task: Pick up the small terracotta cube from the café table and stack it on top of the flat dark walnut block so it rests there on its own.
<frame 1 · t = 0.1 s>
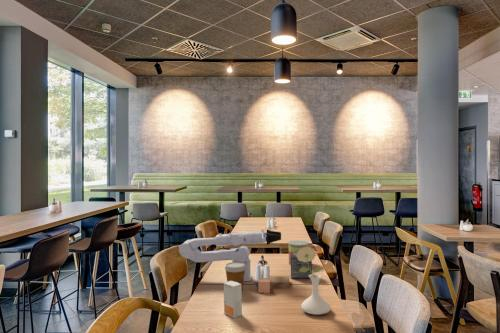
hand: (281, 235, 178), 22 cm above the table, tool horizontal, fingers open, 7 cm apart
disposable coffee cup: (235, 291, 163), on the table
flower in vase: (313, 311, 139), on the table
canned food: (298, 264, 205), on the table
terracotta cube: (264, 290, 163), on the table
small box: (301, 277, 181), on the table
skincare box: (233, 314, 138), on the table
walnut block: (279, 285, 170), on the table
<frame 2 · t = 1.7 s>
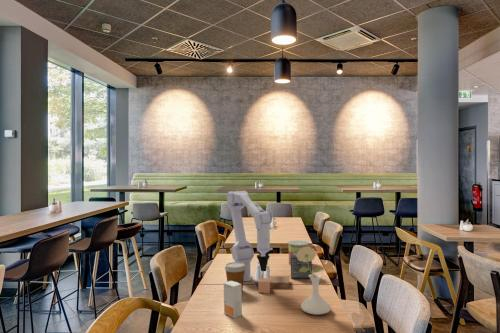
hand: (263, 268, 163), 10 cm above the table, tool pointing down, fingers open, 7 cm apart
nothing on the table moved.
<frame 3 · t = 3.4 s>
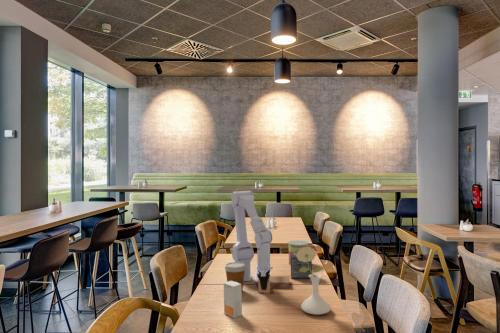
hand: (264, 287, 163), 1 cm above the table, tool pointing down, fingers closed on terracotta cube, 5 cm apart
terracotta cube: (264, 290, 163), on the table, touching gripper
everything else where it was.
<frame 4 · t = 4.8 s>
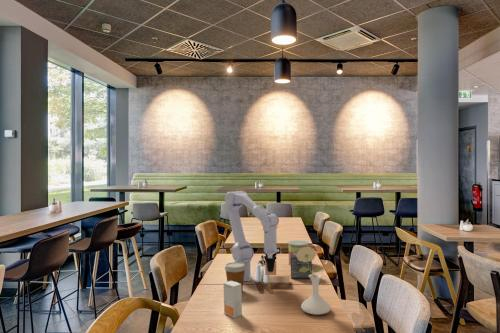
hand: (270, 269, 166), 8 cm above the table, tool pointing down, fingers closed on terracotta cube, 5 cm apart
terracotta cube: (270, 273, 166), point 7 cm above the table, touching gripper
everything else where it was.
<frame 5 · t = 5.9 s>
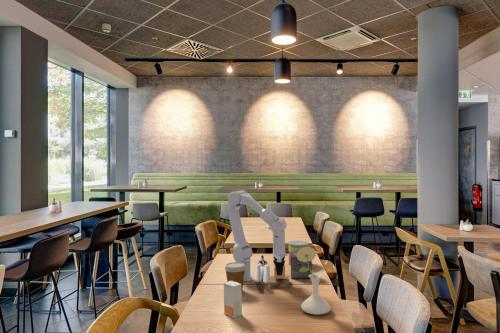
hand: (279, 273, 170), 5 cm above the table, tool pointing down, fingers closed on terracotta cube, 5 cm apart
terracotta cube: (279, 276, 170), point 4 cm above the table, touching gripper
everything else where it was.
when the fingers open (5 cm above the table, at t = 6.6 s): terracotta cube drops 1 cm, point 2 cm above the table.
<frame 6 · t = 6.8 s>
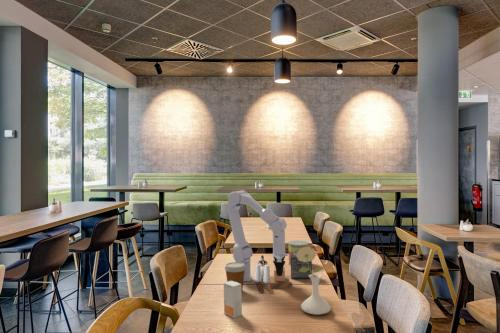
hand: (279, 273, 170), 5 cm above the table, tool pointing down, fingers open, 6 cm apart
terracotta cube: (279, 279, 170), point 2 cm above the table
everything else where it was.
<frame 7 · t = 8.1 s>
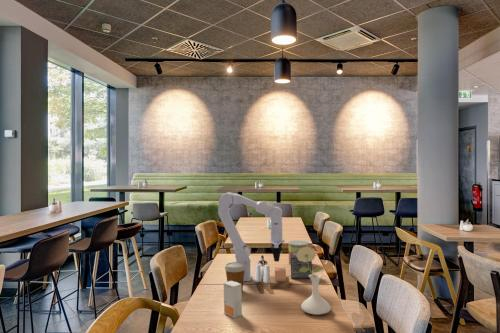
hand: (276, 259, 177), 10 cm above the table, tool pointing down, fingers open, 7 cm apart
nothing on the table moved.
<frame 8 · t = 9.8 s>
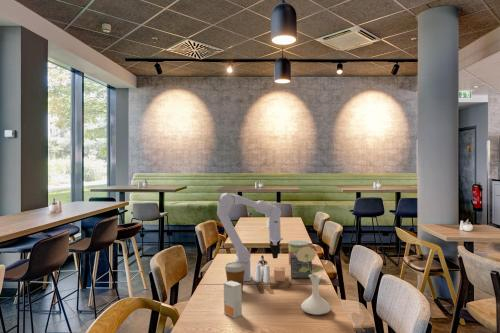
hand: (275, 256, 182), 10 cm above the table, tool pointing down, fingers open, 7 cm apart
terracotta cube: (279, 279, 170), point 2 cm above the table, touching walnut block
walnut block: (279, 285, 170), on the table, touching terracotta cube
everything else where it was.
at the end: terracotta cube 0.1 cm off-centre on the walnut block, point 3.0 cm above the walnut block's base; terracotta cube tilted 0°; the gripper is holding nothing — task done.
